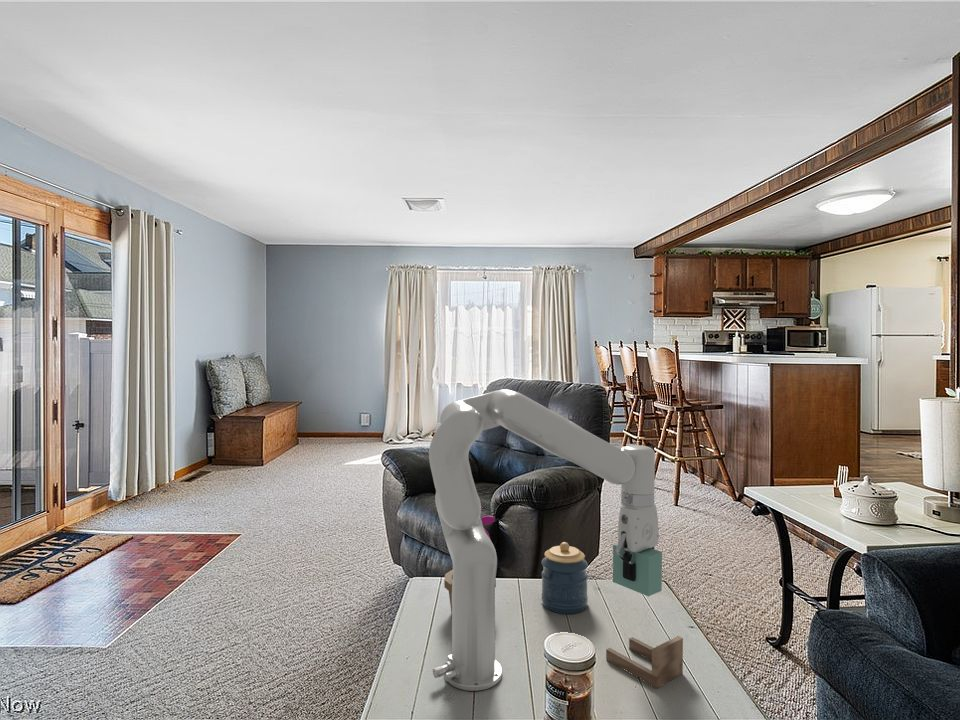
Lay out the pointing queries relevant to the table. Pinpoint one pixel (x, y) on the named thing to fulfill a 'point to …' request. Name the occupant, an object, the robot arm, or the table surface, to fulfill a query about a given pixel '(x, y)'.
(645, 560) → the teal rectangular block
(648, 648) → the book slot
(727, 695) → the table surface
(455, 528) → the robot arm
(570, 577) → the canister
